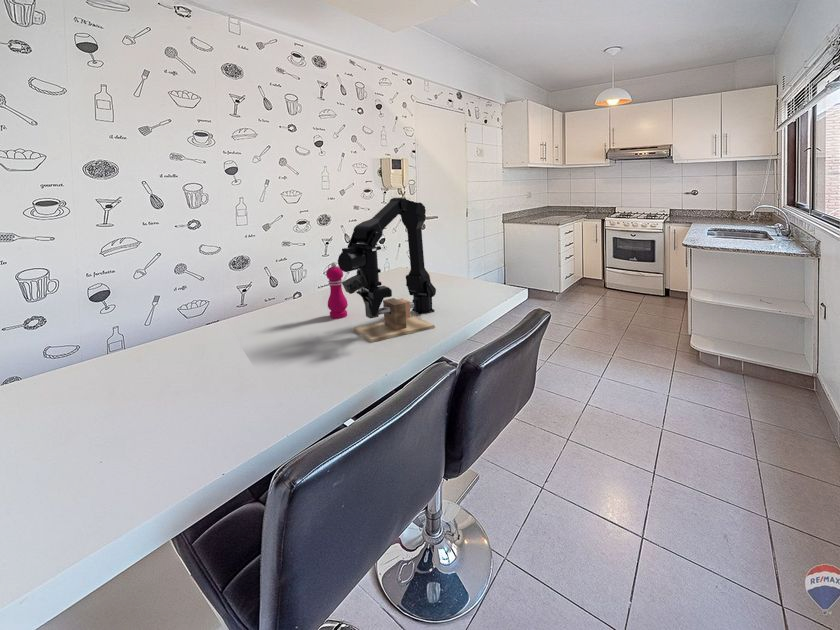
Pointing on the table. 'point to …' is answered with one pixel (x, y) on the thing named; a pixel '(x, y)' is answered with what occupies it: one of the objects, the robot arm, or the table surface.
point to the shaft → (381, 310)
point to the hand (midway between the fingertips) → (372, 314)
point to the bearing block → (395, 314)
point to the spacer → (407, 305)
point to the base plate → (384, 332)
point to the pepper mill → (336, 293)
